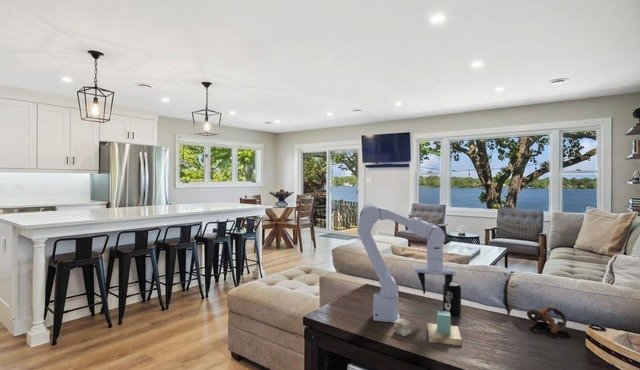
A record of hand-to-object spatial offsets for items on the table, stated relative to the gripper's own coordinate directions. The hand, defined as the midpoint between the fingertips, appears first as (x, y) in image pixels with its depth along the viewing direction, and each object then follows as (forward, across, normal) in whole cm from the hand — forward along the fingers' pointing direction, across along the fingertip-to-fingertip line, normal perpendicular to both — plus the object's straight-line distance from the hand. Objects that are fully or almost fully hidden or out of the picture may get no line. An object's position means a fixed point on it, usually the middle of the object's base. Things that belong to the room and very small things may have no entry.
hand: (434, 293), depth 130 cm
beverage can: (+10, +7, +8) cm, 15 cm away
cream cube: (+10, -12, -14) cm, 21 cm away
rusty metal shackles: (+10, +38, +3) cm, 39 cm away
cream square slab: (+10, +2, -14) cm, 17 cm away
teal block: (+8, +2, -14) cm, 16 cm away
